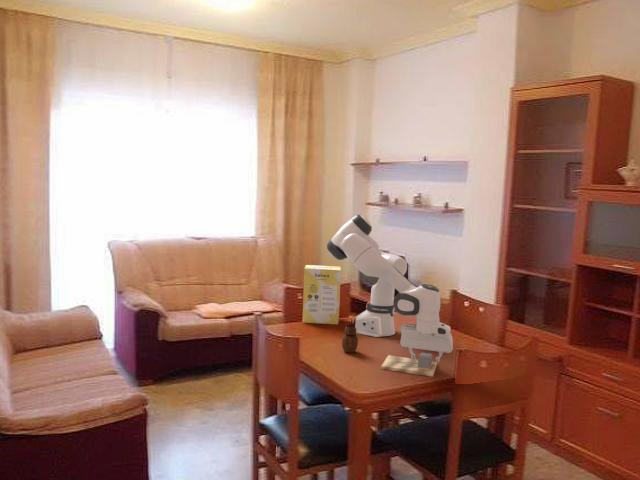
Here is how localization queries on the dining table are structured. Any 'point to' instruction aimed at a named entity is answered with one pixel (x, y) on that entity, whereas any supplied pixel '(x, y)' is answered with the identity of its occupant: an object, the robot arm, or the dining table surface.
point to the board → (407, 365)
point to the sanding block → (425, 361)
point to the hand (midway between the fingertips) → (425, 360)
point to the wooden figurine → (350, 338)
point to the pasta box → (321, 294)
